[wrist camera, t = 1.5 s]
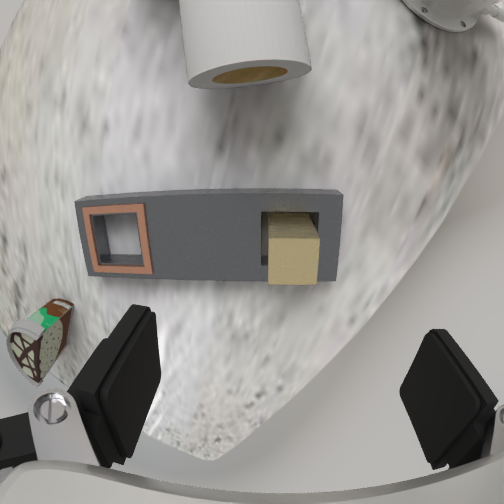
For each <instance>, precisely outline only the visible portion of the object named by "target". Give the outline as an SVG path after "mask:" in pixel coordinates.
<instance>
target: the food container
mask: <svg viewBox="0 0 504 504" xmlns="http://www.w3.org/2000/svg"><path fill="white" fill-rule="evenodd" d="M73 308H74V304H73V303H71V302H69V301H67V300H63V299H53V300H51V301H50V302H48V303H47V304H46V305H44V306H43V307H42V308H40V309H39V310H38V311H36V312H35V313H34V314H33V315H31V316H30V317H29V318H27V319H20V320H17V321H16V322H15V323H14V324H13V326H12V327H11V329H10V331H9V333H8V336H7V340H6V341H7V349H8V352H9V354H10V357H11V359H12V361H13V362H14V364H15V366H16V367H17V368H18V370H19V371H20V372H21V374H22V375H23V376H24V377H25V378H26V379H27V380H28V381H29V382H30V383H31V384H32V385H34V386H35V387H36V388H37V387H38V386H40V384H41V383H42V382H43V379H44V377H45V376H46V374H47V373H48V371H49V370H50V368H51V367H52V366H53V364H54V363H55V361H56V360H57V359H58V357H59V356H60V354H61V353H62V352H63V350H64V349H65V347H66V346H67V344H68V337H69V331H70V324H71V319H72V313H73Z"/></svg>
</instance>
